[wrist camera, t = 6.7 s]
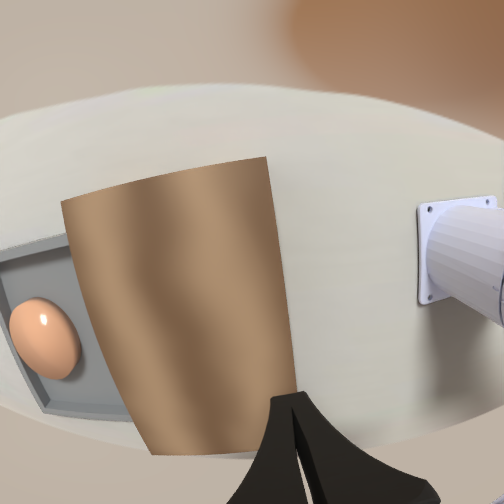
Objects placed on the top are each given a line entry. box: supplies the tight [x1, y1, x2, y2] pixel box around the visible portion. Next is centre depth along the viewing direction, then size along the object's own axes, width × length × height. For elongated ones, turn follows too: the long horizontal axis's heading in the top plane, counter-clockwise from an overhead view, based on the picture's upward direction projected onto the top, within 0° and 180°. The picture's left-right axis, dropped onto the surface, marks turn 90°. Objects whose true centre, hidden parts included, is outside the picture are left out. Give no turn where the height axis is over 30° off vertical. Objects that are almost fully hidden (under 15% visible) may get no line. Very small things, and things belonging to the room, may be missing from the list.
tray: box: [0, 233, 133, 422], centre depth 20 cm, size 12×16×2 cm
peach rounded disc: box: [9, 297, 81, 380], centre depth 19 cm, size 7×7×2 cm
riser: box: [61, 157, 297, 455], centre depth 19 cm, size 12×20×4 cm, turn 9°
